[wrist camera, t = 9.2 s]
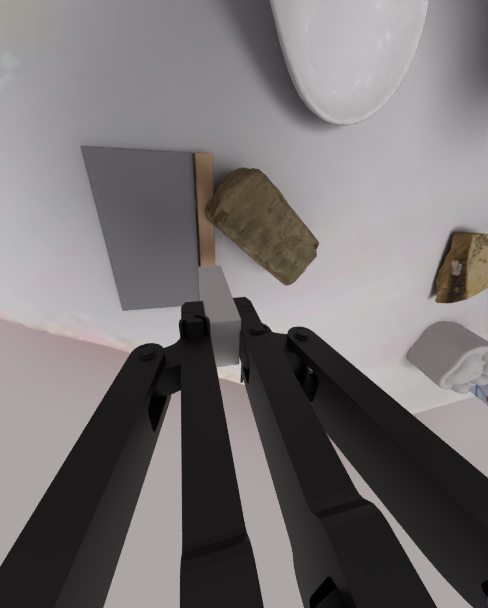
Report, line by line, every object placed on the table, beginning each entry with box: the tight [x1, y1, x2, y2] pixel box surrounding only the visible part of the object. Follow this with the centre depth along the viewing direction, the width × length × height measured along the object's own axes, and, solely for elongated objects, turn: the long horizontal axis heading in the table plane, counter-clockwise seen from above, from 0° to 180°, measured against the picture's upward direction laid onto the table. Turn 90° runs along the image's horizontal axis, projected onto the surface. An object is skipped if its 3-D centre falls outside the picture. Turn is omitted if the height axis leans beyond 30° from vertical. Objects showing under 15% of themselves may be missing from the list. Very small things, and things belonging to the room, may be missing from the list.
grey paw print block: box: [407, 321, 488, 394], centre depth 44 cm, size 10×13×9 cm
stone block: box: [205, 168, 319, 285], centre depth 23 cm, size 6×12×5 cm, turn 47°
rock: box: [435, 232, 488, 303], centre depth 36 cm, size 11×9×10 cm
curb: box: [194, 153, 215, 267], centre depth 25 cm, size 16×2×2 cm, turn 177°
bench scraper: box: [81, 146, 200, 311], centre depth 25 cm, size 16×9×1 cm, turn 177°
